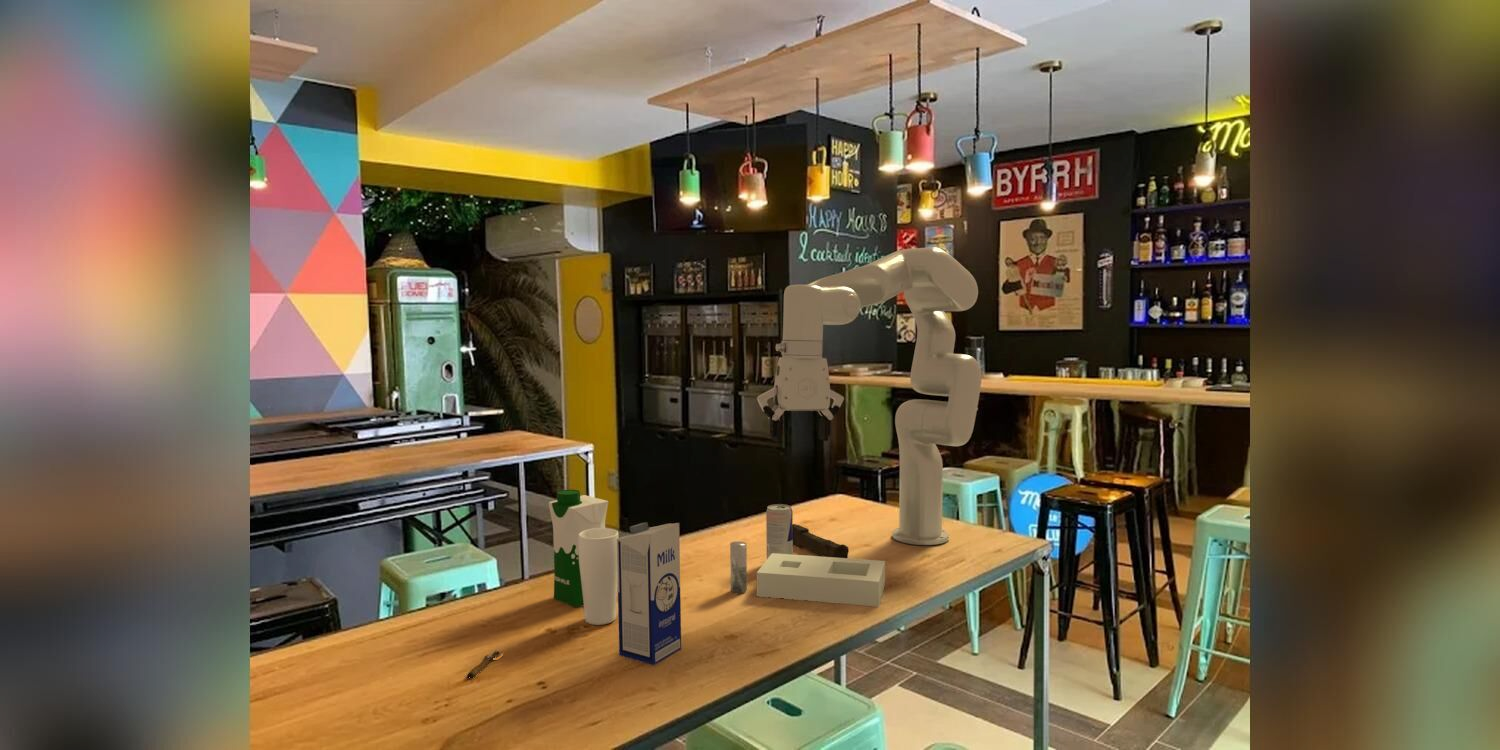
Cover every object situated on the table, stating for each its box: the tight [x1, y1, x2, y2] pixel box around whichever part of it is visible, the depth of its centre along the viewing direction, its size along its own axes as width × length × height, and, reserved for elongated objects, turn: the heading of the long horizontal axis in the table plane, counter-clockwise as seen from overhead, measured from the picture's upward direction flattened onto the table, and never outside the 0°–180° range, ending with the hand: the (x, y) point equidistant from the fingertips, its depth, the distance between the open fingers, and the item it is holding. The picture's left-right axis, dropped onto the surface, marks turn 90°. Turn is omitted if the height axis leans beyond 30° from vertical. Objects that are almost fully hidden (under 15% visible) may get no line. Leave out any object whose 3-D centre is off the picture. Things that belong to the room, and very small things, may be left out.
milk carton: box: [616, 521, 682, 666], centre depth 122 cm, size 7×7×20 cm
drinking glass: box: [578, 527, 620, 626], centre depth 135 cm, size 7×7×15 cm
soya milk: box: [548, 489, 609, 609], centre depth 146 cm, size 9×9×20 cm
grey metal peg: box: [729, 541, 748, 595], centre depth 149 cm, size 3×3×9 cm
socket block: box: [756, 553, 886, 608], centre depth 149 cm, size 12×22×4 cm, turn 75°
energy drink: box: [765, 503, 794, 560], centre depth 164 cm, size 5×5×12 cm
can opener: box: [466, 650, 500, 679], centre depth 119 cm, size 9×2×1 cm, turn 165°
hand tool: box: [793, 523, 850, 558], centre depth 174 cm, size 19×4×5 cm, turn 30°
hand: (800, 440), depth 153 cm, fingers open, 9 cm apart
